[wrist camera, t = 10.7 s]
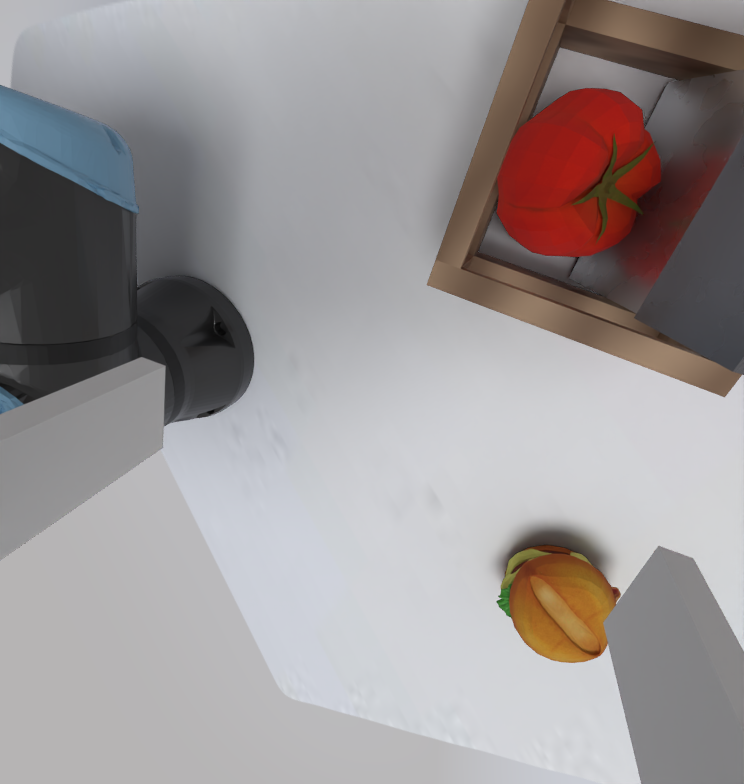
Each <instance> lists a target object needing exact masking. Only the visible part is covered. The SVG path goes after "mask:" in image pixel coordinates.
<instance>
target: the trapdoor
mask: <svg viewBox="0 0 744 784" xmlns="http://www.w3.org/2000/svg"><path fill="white" fill-rule="evenodd" d="M645 130H646V131H648V132H649V133H650V135H651V137H652V140H653V143H654V142H655V141H656V142H655V143H654V145H655V148H656V150H657V153H658V155H659V158H660V160H661V182H660V183H658V184H657V185H656V186H654V187H653V188H652V189H650V190H649V191H648V192H646V193H645V194H644V195H642V196H641V197H640V198H639V199H637V205H638V207H639V208H640V209H641V211H642V212H643V214H644V215H645V216H644V215H642V214H640V213H639V212H636V217H635V220H634V223H633V226H632V229H631V232H630V233H629V234H628V235H627V236H626V237H625V238H624V239H622V240H621V241H620V242H619V243H618V244H616V245H614V246H612V247H610V248H608V249H606V250H603V251H601V252H598V253H596V254H593V255H591V256H581V257H579V259H578V261H577V263H576V265H575V267H574V269H573V271H572V273H571V275H570V277H569V278H570V279H572V280H573V281H575V282H577V283H579V284H581V285H583V286H585V287H587V288H589V289H591V290H592V291H594V292H596V293H598V294H600V295H602V296H604V297H606V298H608V299H610V300H612V301H613V302H615V303H617V304H619V305H621V306H623V307H625V308H627V309H629V310H631V311H633V312H634V313H636V315H635V317H634V318H635V319H636V320H638V321H640V322H642V323H644V324H646V325H647V326H649V327H651V328H653V329H655V330H657V331H659V332H660V333H662V334H664V335H666V336H668V337H670V338H671V339H673V340H675V341H677V342H679V343H681V344H682V345H684V346H686V347H688V348H690V349H692V350H694V351H695V352H697V353H699V354H701V355H703V356H705V357H706V358H708V359H710V360H712V361H714V362H716V363H717V364H719V365H721V366H723V367H725V368H727V369H729V370H730V371H732V372H735V373H739V374H743V375H744V69H743V70H737V71H731V72H726V73H720V74H714V75H708V76H703V77H697V78H691V79H685V80H679V81H674V82H668V83H667V85H666V87H665V89H664V91H663V93H662V95H661V97H660V99H659V101H658V103H657V105H656V107H655V109H654V111H653V113H652V115H651V117H650V119H649V121H648V123H647V125H646V127H645Z"/></svg>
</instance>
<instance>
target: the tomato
mask: <svg viewBox="0 0 744 784" xmlns="http://www.w3.org/2000/svg"><path fill="white" fill-rule="evenodd" d="M655 142H656V141H655ZM655 142H654V143H655ZM654 143H653V140H652V137H651V135H650V133H649V132H648V131H646V130H645V129H644V122H643V113H642V109H641V108H639V107H638V106H637V105H636V104H635V103H633V102H632V101H631V100H630V99H628V98H627V97H626V96H624V95H623V94H622V93H621V92H617V91H613V90H608V89H596V88H584V89H579V90H574V91H570V92H568V93H566V94H565V95H563V96H562V97H560V98H559V99H557V100H556V101H554V102H553V103H552V104H550V105H549V106H548V107H547V108H545V109H544V110H543V111H541V112H540V113H539V114H537V115H536V116H535V117H533V118H532V119H531V120H529V121H528V122H527V123H525V124H524V125H523V126H521V127H520V128H519V130H518V131H517V133H516V134H515V136H514V137H513V139H512V141H511V143H510V146H509V149H508V151H507V154H506V156H505V159H504V161H503V164H502V166H501V169H500V172H499V174H498V177H497V181H498V190H499V197H498V207H497V215H498V217H499V218H500V220H501V222H502V224H503V226H504V227H505V229H506V231H507V232H508V234H509V236H511V237H512V238H513V239H515V240H516V241H517V242H518V243H520V244H521V245H522V246H524V247H525V248H527V249H528V250H529V251H531V252H534V253H538V254H542V255H546V256H570V257H581V256H591V255H593V254H596V253H598V252H601V251H603V250H606V249H608V248H610V247H612V246H614V245H616V244H618V243H619V242H620V241H621V240H622V239H624V238H625V237H626V236H627V235H628V234H629V233H630V232H631V229H632V226H633V223H634V220H635V217H636V212H639V213H640V214H642V215H644V214H643V212H642V211H641V209H640V208H639V207H638V205H637V199H639V198H640V197H641V196H642V195H644V194H645V193H646V192H648V191H649V190H650V189H652V188H653V187H654V186H656V185H657V184H658V183H660V182H661V160H660V158H659V155H658V153H657V150H656V148H655V145H654ZM644 216H645V215H644Z"/></svg>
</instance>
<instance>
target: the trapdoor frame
mask: <svg viewBox="0 0 744 784" xmlns="http://www.w3.org/2000/svg"><path fill="white" fill-rule="evenodd" d="M560 47H562V48H565V49H569V50H573V51H576V52H580V53H583V54H587V55H591V56H594V57H598V58H601V59H605V60H609V61H612V62H616V63H619V64H623V65H627V66H630V67H634V68H637V69H641V70H644V71H648V72H652V73H655V74H659V75H662V76H666V77H670V78H673V79H677V80H685V79H691V78H697V77H703V76H708V75H714V74H720V73H726V72H731V71H737V70H743V69H744V36H743V35H740V34H736V33H732V32H728V31H724V30H720V29H716V28H712V27H709V26H705V25H701V24H697V23H693V22H689V21H685V20H681V19H678V18H674V17H670V16H666V15H662V14H658V13H654V12H650V11H646V10H643V9H639V8H635V7H631V6H627V5H623V4H619V3H615V2H612V1H608V0H529V2H528V4H527V7H526V10H525V13H524V15H523V18H522V21H521V24H520V27H519V29H518V32H517V35H516V38H515V40H514V43H513V46H512V49H511V52H510V54H509V57H508V60H507V63H506V66H505V68H504V71H503V74H502V77H501V79H500V82H499V85H498V88H497V91H496V93H495V96H494V99H493V102H492V104H491V107H490V110H489V113H488V116H487V118H486V121H485V124H484V127H483V130H482V132H481V135H480V138H479V141H478V143H477V146H476V149H475V152H474V155H473V157H472V160H471V163H470V166H469V168H468V171H467V174H466V177H465V180H464V182H463V185H462V188H461V191H460V194H459V196H458V199H457V202H456V205H455V207H454V210H453V213H452V216H451V219H450V221H449V224H448V227H447V230H446V233H445V235H444V238H443V241H442V244H441V246H440V249H439V252H438V255H437V258H436V260H435V263H434V266H433V269H432V271H431V274H430V277H429V280H428V283H427V285H428V286H431V287H434V288H436V289H439V290H442V291H444V292H447V293H450V294H452V295H455V296H458V297H460V298H463V299H465V300H468V301H471V302H473V303H476V304H479V305H481V306H484V307H487V308H489V309H492V310H495V311H497V312H500V313H503V314H505V315H508V316H511V317H513V318H516V319H519V320H521V321H524V322H527V323H529V324H532V325H534V326H537V327H540V328H542V329H545V330H548V331H550V332H553V333H556V334H558V335H561V336H564V337H566V338H569V339H572V340H574V341H577V342H580V343H582V344H585V345H588V346H590V347H593V348H596V349H598V350H601V351H604V352H606V353H609V354H611V355H614V356H617V357H619V358H622V359H625V360H627V361H630V362H633V363H635V364H638V365H641V366H643V367H646V368H649V369H651V370H654V371H657V372H659V373H662V374H665V375H667V376H670V377H673V378H675V379H678V380H680V381H683V382H686V383H688V384H691V385H694V386H696V387H699V388H702V389H704V390H707V391H710V392H712V393H715V394H718V395H720V396H723V397H725V396H726V395H727V394H728V392H729V391H730V390H731V388H732V387H733V386H734V385H735V383H736V382H737V381H738V379H739V378H740V377H741V375H742V374H739V373H735V372H732V371H730V370H729V369H727V368H725V367H723V366H721V365H719V364H717V363H716V362H714V361H712V360H710V359H708V358H706V357H705V356H703V355H701V354H699V353H697V352H695V351H694V350H692V349H690V348H688V347H686V346H684V345H682V344H681V343H679V342H677V341H675V340H673V339H671V338H670V337H668V336H666V335H664V334H662V333H660V332H659V331H657V330H655V329H653V328H651V327H649V326H647V325H646V324H644V323H642V322H640V321H638V320H636V319H635V318H634V317H635V315H636V313H634V312H633V311H631V310H629V309H627V308H625V307H623V306H621V305H619V304H617V303H615V302H613V301H612V300H610V299H608V298H606V297H603V296H600V295H597V294H595V293H592V292H589V291H586V290H583V289H581V288H578V287H575V286H572V285H570V284H567V283H564V282H561V281H558V280H556V279H553V278H550V277H547V276H544V275H542V274H539V273H536V272H533V271H530V270H528V269H525V268H522V267H519V266H516V265H514V264H511V263H508V262H505V261H503V260H500V259H497V258H494V257H491V256H489V255H486V254H483V253H480V252H478V251H479V248H480V246H481V243H482V241H483V238H484V236H485V233H486V231H487V228H488V226H489V223H490V221H491V218H492V216H493V213H494V211H495V208H496V206H497V203H498V197H499V190H498V181H497V177H498V174H499V172H500V169H501V166H502V164H503V161H504V159H505V156H506V154H507V151H508V149H509V146H510V143H511V141H512V139H513V137H514V136H515V134H516V133H517V131H518V130H519V128H520V127H521V126H523V125H524V124H525V123H527V122H528V121H529V120H531V118H532V116H533V113H534V110H535V108H536V105H537V103H538V100H539V98H540V95H541V93H542V90H543V88H544V85H545V83H546V80H547V78H548V75H549V73H550V70H551V68H552V65H553V63H554V60H555V58H556V55H557V53H558V50H559V48H560Z"/></svg>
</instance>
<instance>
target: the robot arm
mask: <svg viewBox="0 0 744 784" xmlns="http://www.w3.org/2000/svg"><path fill="white" fill-rule="evenodd" d="M136 213H138V214H139V206H138V205H137V204H136V198H135V185H134V172H133V159H132V155H131V152H130V149H129V147H128V145H127V143H126V142H125V141H124V139H123V138H122V137H121V136H120V135H119V134H118V133H117V132H116V131H115V130H113V129H112V128H111V127H109V126H107V125H106V124H103V123H101V122H99V121H96V120H94V119H91V118H89V117H86V116H84V115H81V114H78V113H76V112H73V111H70V110H68V109H65V108H62V107H60V106H57V105H54V104H51V103H49V102H46V101H43V100H41V99H38V98H35V97H32V96H30V95H27V94H24V93H21V92H19V91H16V90H13V89H10V88H7V87H4V86H2V85H0V560H2V559H3V558H5V557H6V556H7V555H9V554H10V553H12V552H13V551H15V550H16V549H17V548H19V547H20V546H22V545H23V544H25V543H26V542H27V541H29V540H30V539H32V538H33V537H35V536H36V535H38V534H39V533H41V532H42V531H43V530H45V529H46V528H48V527H49V526H50V525H52V524H54V523H55V522H56V521H58V520H59V519H61V518H62V517H64V516H65V515H67V514H68V513H69V512H71V511H72V510H74V509H75V508H77V507H78V506H79V505H81V504H82V503H84V502H85V501H87V500H88V499H90V498H91V497H92V496H94V495H95V494H97V493H98V492H100V491H101V490H102V489H104V488H105V487H107V486H108V485H110V484H111V483H113V482H114V481H116V480H117V479H118V478H120V477H121V476H123V475H124V474H126V473H127V472H128V471H130V470H131V469H133V468H134V467H136V466H137V465H139V464H140V463H141V462H143V461H144V460H146V459H147V458H149V457H150V456H152V455H153V454H154V453H156V452H157V451H159V450H160V449H162V448H163V429H164V426H166V425H167V424H169V423H173V422H179V421H184V420H190V419H194V418H202V417H207V416H211V415H214V414H217V413H219V412H221V411H223V410H224V409H226V408H227V407H229V406H230V405H232V404H233V403H235V402H236V401H237V400H238V399H239V398H240V397H241V396H242V395H243V394H244V392H245V391H246V389H247V387H248V385H249V383H250V380H251V377H252V372H253V348H252V343H251V339H250V336H249V333H248V331H247V328H246V326H245V324H244V322H243V320H242V318H241V316H240V315H239V313H238V312H237V310H236V309H235V307H234V306H233V305H232V304H231V303H230V301H229V300H228V299H227V298H226V297H225V296H224V295H223V294H221V293H220V292H219V291H218V290H216V289H215V288H214V287H212V286H210V285H209V284H207V283H205V282H203V281H201V280H198V279H195V278H192V277H187V276H170V277H165V278H159V279H154V280H151V281H148V282H146V283H144V284H142V285H140V286H139V287H137V264H136ZM603 624H604V628H605V633H606V637H607V641H608V645H609V649H610V654H611V658H612V662H613V666H614V670H615V675H616V679H617V683H618V687H619V692H620V696H621V700H622V704H623V708H624V713H625V717H626V721H627V725H628V729H629V734H630V738H631V742H632V746H633V750H634V755H635V759H636V763H637V767H638V771H639V776H640V780H641V784H744V651H743V649H742V648H741V646H740V644H739V642H738V640H737V638H736V636H735V635H734V633H733V631H732V629H731V627H730V625H729V623H728V622H727V620H726V618H725V616H724V614H723V612H722V611H721V609H720V607H719V605H718V603H717V601H716V599H715V598H714V596H713V594H712V592H711V590H710V588H709V587H708V585H707V583H706V581H705V579H704V577H703V575H702V574H701V572H700V570H699V568H698V566H697V564H696V562H695V561H694V559H693V558H691V557H688V556H685V555H682V554H680V553H677V552H674V551H672V550H669V549H666V548H663V547H661V546H658V547H657V549H656V550H655V551H654V553H653V554H652V556H651V557H650V558H649V560H648V561H647V563H646V564H645V565H644V567H643V568H642V569H641V571H640V572H639V574H638V575H637V576H636V578H635V579H634V581H633V582H632V583H631V585H630V586H629V588H628V589H627V590H626V592H625V593H624V595H623V596H622V597H621V599H620V600H619V601H618V603H617V604H616V606H615V607H614V608H613V610H612V611H611V613H610V614H609V615H608V617H607V618H606V620H605V621H604V622H603Z"/></svg>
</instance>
